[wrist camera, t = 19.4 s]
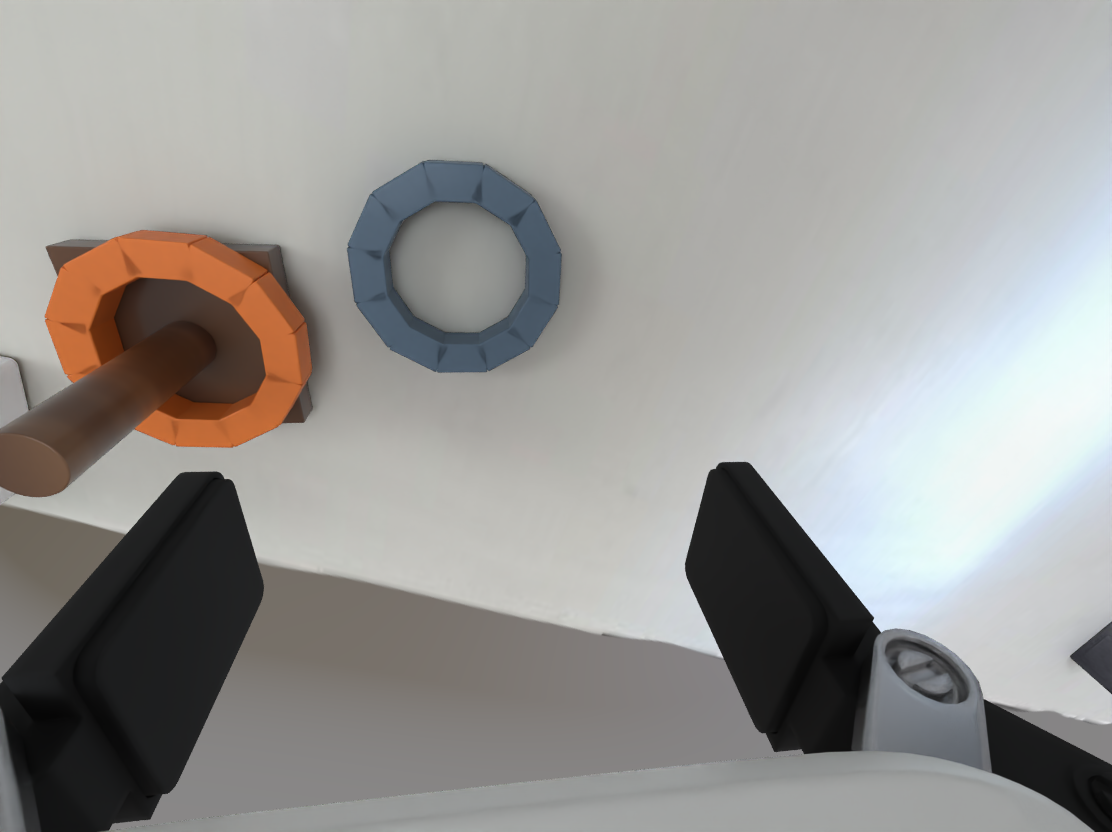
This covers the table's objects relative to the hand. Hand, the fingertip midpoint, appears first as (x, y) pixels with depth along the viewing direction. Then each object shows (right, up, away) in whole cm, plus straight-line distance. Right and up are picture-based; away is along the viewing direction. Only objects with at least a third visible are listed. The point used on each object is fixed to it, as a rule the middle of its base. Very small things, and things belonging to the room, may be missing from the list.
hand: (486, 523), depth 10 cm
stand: (-17, +6, +16) cm, 24 cm away
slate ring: (-4, +10, +16) cm, 19 cm away
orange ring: (-16, +6, +14) cm, 22 cm away
